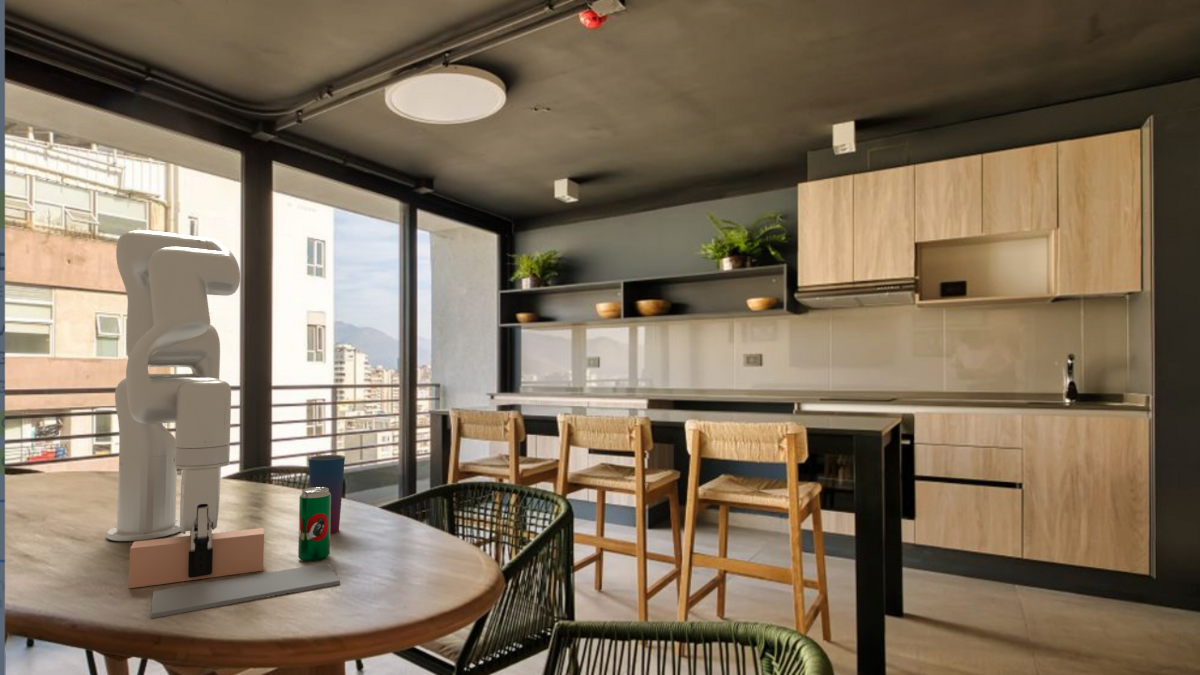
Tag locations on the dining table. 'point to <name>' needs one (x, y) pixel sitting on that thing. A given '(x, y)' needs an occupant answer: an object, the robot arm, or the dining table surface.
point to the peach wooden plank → (171, 557)
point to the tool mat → (241, 589)
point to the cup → (329, 482)
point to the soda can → (314, 524)
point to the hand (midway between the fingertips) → (199, 569)
